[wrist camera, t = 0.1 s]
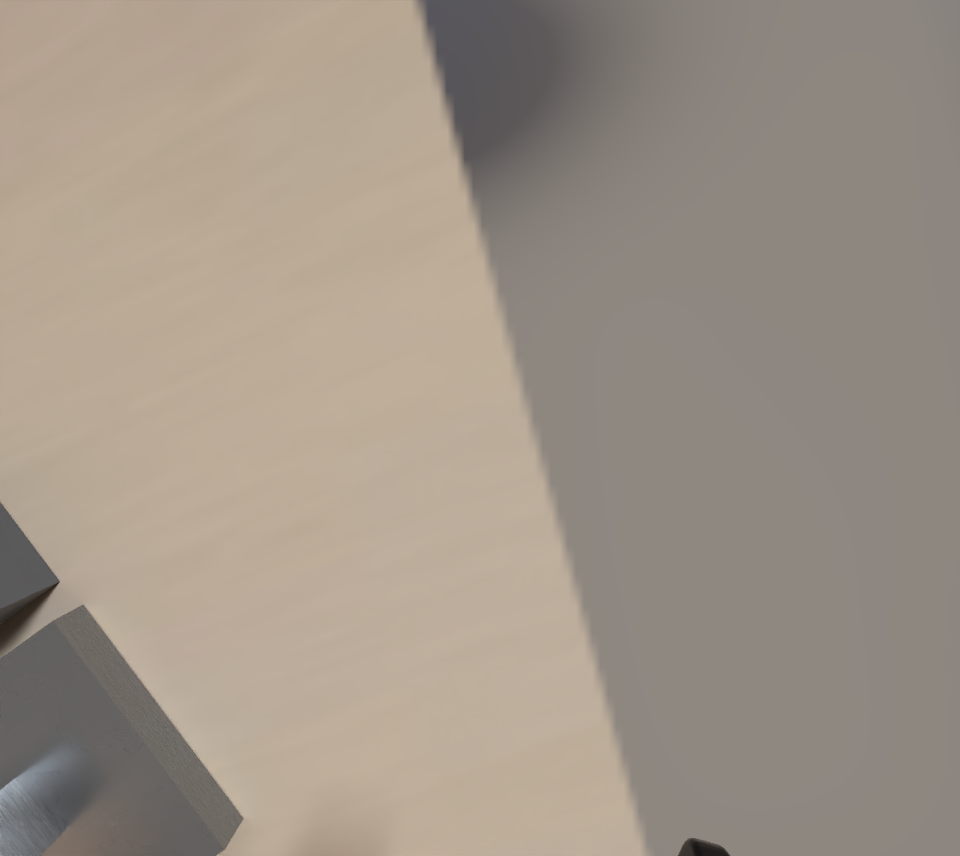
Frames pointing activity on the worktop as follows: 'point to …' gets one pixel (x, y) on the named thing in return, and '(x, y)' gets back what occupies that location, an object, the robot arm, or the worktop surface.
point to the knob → (19, 569)
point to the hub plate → (97, 757)
